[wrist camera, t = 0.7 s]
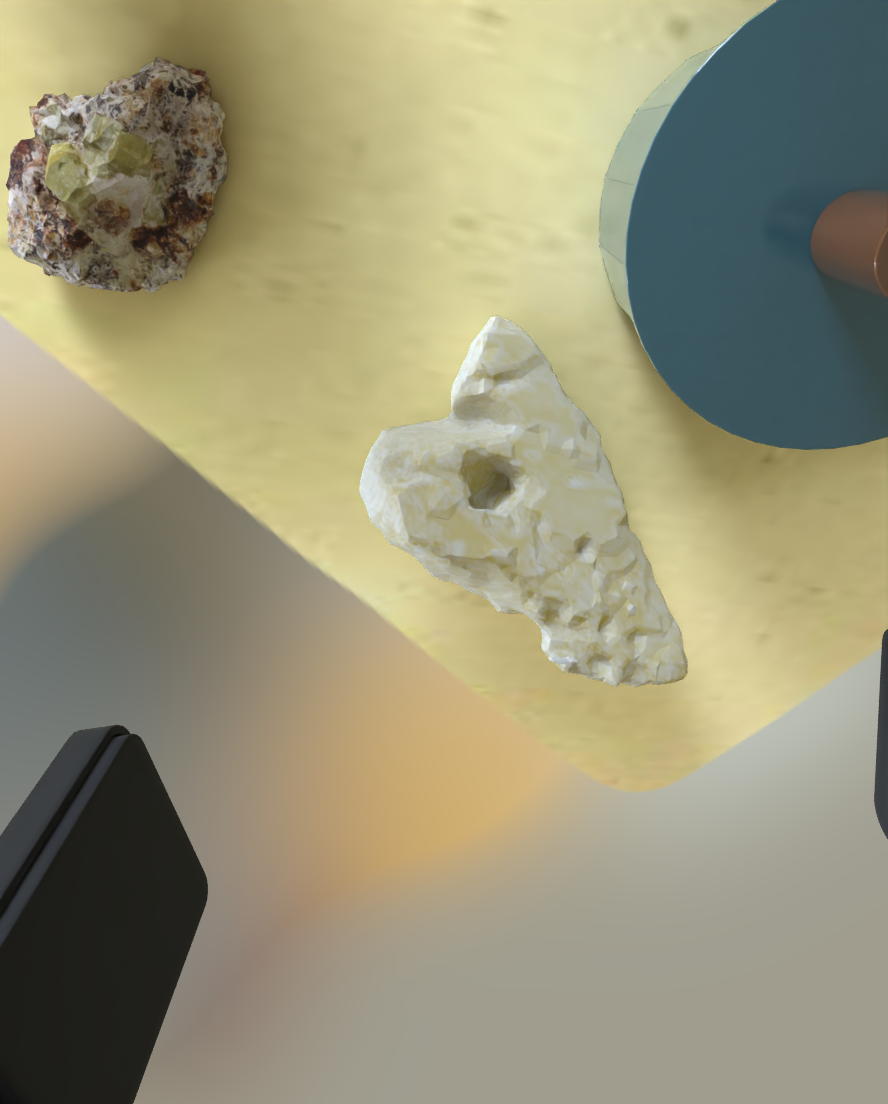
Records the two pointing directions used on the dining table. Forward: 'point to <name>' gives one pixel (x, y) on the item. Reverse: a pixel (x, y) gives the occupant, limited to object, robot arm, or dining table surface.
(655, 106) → the jar
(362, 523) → the dining table surface
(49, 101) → the mineral rock
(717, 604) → the dining table surface
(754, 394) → the jar lid
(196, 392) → the dining table surface
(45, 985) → the robot arm
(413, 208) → the dining table surface
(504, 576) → the white coral rock
